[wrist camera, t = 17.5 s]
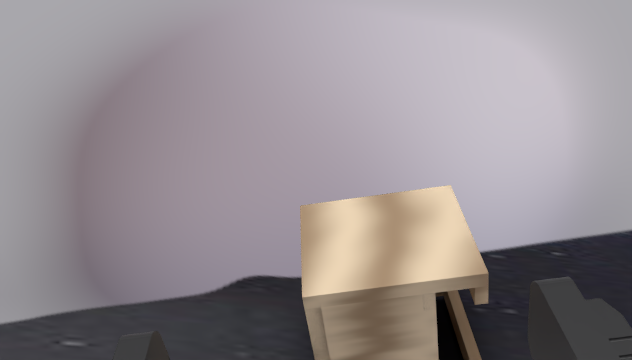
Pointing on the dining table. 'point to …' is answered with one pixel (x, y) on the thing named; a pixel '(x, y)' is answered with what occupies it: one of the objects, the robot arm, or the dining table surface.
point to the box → (388, 275)
